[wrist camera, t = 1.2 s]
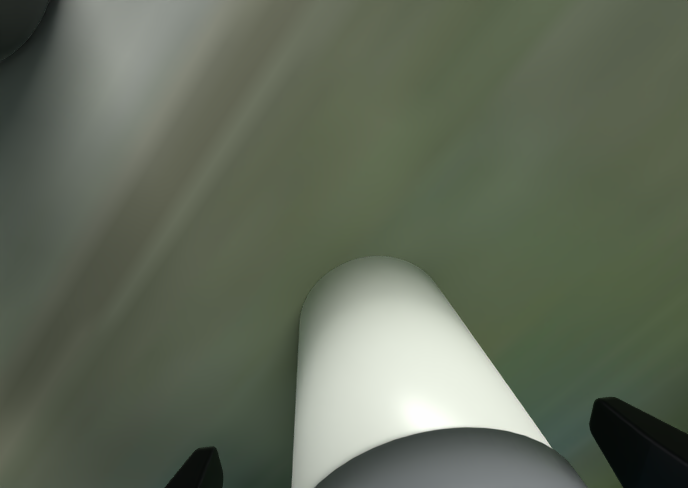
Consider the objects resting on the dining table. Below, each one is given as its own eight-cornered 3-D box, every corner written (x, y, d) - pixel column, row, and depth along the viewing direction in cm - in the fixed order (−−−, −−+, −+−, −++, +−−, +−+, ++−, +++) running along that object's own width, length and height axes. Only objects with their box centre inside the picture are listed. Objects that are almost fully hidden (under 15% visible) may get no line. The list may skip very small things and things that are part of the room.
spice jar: (450, 245, 12) (687, 481, 5) (446, 376, 14) (605, 695, 6) (287, 261, 12) (246, 543, 4) (305, 392, 14) (299, 748, 6)
